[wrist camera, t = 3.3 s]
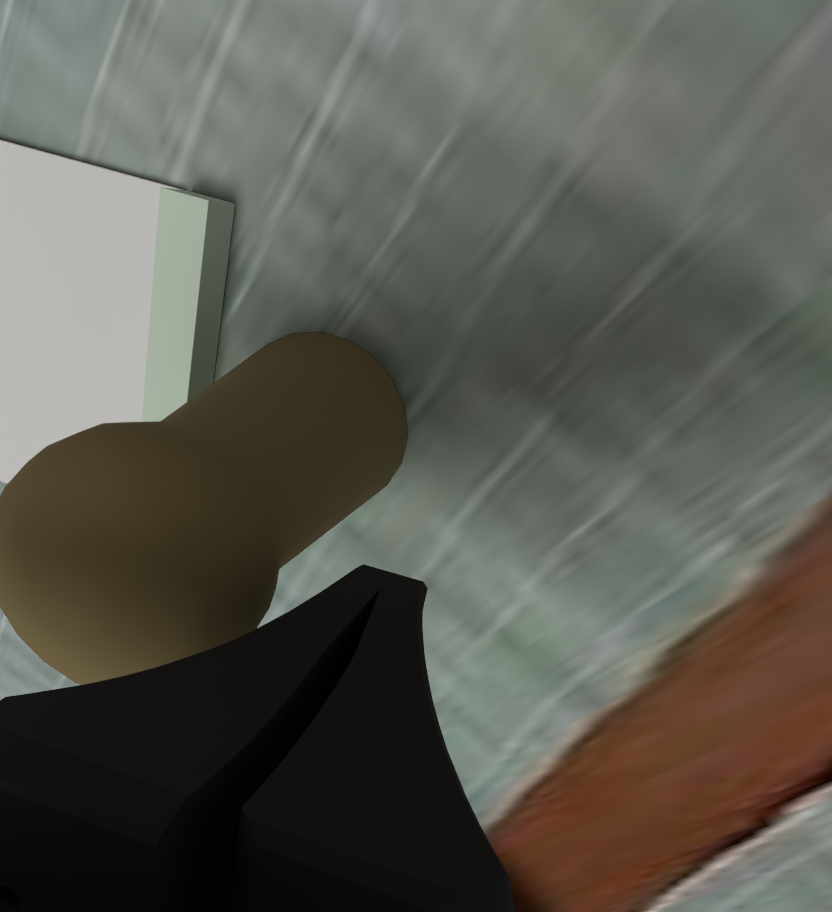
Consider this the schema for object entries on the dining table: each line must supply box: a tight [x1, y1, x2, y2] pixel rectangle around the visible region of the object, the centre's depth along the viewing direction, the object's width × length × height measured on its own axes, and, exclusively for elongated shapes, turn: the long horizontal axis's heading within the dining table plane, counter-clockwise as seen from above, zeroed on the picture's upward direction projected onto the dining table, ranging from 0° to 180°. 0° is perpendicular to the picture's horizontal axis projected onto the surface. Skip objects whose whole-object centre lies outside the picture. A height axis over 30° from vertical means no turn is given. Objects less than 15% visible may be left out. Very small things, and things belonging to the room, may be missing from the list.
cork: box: [0, 332, 408, 685], centre depth 15 cm, size 6×6×11 cm
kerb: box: [142, 187, 235, 422], centre depth 20 cm, size 2×12×2 cm, turn 166°
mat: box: [0, 139, 186, 484], centre depth 22 cm, size 12×12×1 cm
